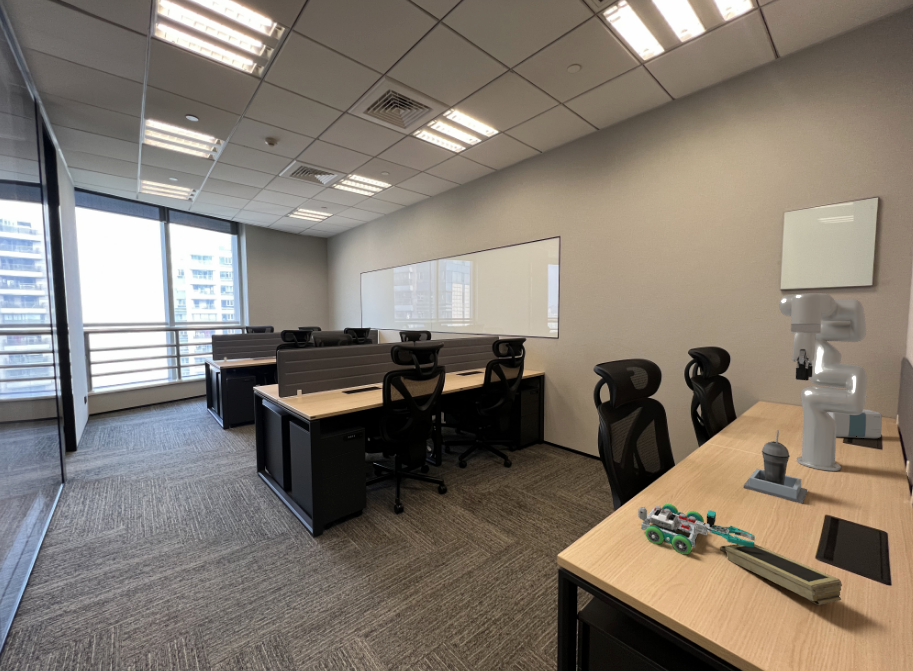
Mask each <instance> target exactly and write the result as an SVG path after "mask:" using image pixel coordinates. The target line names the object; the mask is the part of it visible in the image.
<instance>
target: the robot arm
mask: <svg viewBox="0 0 913 671" xmlns="http://www.w3.org/2000/svg"><path fill="white" fill-rule="evenodd" d="M778 308H779V311H780V313H781V314H782V315H784V316H786V317H790V334H794V335H793V343H792V356H791V361H792V362H796V368H795V380H796V381H797V380H798V381H805V382H806V381H810V383H812V384H814V385H813V386H807V387H804V388H803V389H802V390H801V392H800V401H801V406H802V441H801V442H802V444H801V446H802V447H801V456H797V458H796V462H797V463H798V464H800V465H802V466H805V467H808V468H812V469H815V470H820V471H828V472H830V471H831V472H837V471H840V470H841V468H842V467H841V465H840V464H838V463H837V462H836V451H837V450H836V448H837V446H836V444H837V437H836V422H835V421H834V419H833V418H832V417H831V416H830V415H829V414H828V413H827V412H833V413H841V414H848V415H859V414H861V413H862V412H863V410H864V409H865V406H866V396H867V394H866V393H867V383H868V375H867V371H866V369H865V368H864V366H860V365H857V364H847V363H841V361H842V353H841V352H840V351H839V349H838V348H836V347H835V346H834V345H833V344H831V343H829V342H841V343H842V342H843V343H844V342H845V343H846V342H847V343H849V342H850V343H856V342H861V341H863V340H864V339H865V337H866V335H867V324H866V316H865V309H864V307H863V305H862V303H861V301H860V300H859V299H855V298H846V299H844V298H842V299H835V298H834V297H833V296H831V295H830V294H829V293H825V292H824V293H821V292H819V293H818V292H817V293H816V292H811V293H810V292H809V293H807V292H806V293H797V294H795V293H794V294H786V295H783V296H782V297H781V298H780V300H779V303H778Z"/></svg>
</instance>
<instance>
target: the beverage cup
mask: <svg viewBox="0 0 913 671" xmlns="http://www.w3.org/2000/svg"><path fill="white" fill-rule="evenodd" d="M779 432H780V430H779V429H777V430H776V438H775V439H776V440H775V441H768V442H767V443H765V444H764V445H763V446H762V450H761V453H762V458H763V468H764V469H763V470H764V471H765V481H768V482H772V483H776V484H780V485H784V481H785V475H786V473H787V467H788V464H789V459H790V452H789V450H788V447H786V446H785V445H784V444H783V443H781V442H779V435H780V434H779Z"/></svg>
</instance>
